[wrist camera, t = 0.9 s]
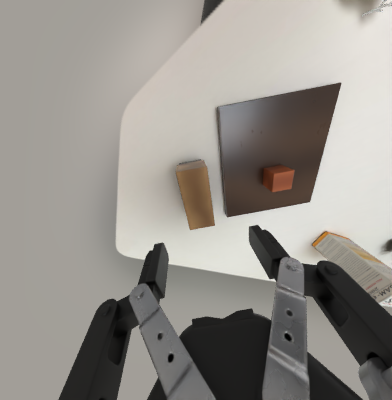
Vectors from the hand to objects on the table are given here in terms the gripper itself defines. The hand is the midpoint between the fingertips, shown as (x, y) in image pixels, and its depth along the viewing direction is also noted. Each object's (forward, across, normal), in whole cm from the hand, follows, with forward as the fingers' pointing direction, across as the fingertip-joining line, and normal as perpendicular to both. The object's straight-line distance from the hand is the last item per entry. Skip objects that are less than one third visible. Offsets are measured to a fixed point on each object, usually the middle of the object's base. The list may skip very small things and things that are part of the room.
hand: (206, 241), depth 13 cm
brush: (+13, 0, 0) cm, 13 cm away
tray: (+13, -13, -2) cm, 18 cm away
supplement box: (+14, -30, +21) cm, 39 cm away
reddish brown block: (+12, -13, 0) cm, 17 cm away
